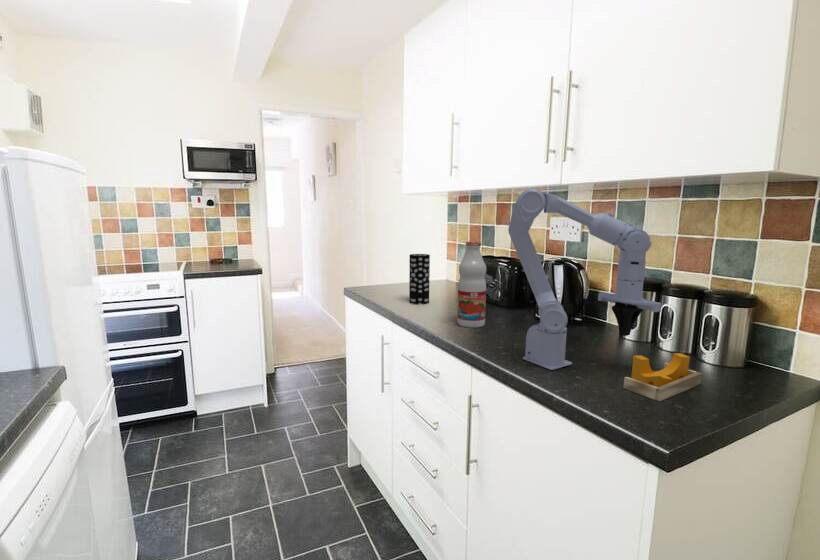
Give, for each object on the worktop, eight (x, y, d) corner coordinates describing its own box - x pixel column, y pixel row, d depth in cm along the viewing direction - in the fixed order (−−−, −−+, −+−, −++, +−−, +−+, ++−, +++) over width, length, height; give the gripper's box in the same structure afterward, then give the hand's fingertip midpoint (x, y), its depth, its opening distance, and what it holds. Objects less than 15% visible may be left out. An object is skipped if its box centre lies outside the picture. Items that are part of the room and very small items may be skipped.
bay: (623, 388, 94) (624, 377, 93) (665, 372, 103) (666, 362, 102) (659, 401, 87) (660, 390, 87) (700, 383, 96) (702, 373, 96)
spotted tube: (428, 300, 183) (428, 253, 180) (430, 304, 175) (430, 256, 172) (408, 300, 183) (408, 253, 179) (410, 304, 174) (410, 256, 171)
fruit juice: (483, 321, 149) (486, 241, 145) (486, 328, 140) (489, 243, 135) (456, 320, 150) (458, 240, 145) (457, 327, 141) (459, 242, 136)
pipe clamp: (644, 390, 93) (646, 362, 92) (630, 383, 97) (633, 355, 96) (692, 387, 95) (696, 359, 94) (677, 379, 99) (680, 353, 98)
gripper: (670, 282, 97) (664, 340, 99) (611, 274, 109) (607, 325, 111) (653, 285, 93) (647, 345, 96) (594, 276, 106) (590, 329, 108)
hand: (624, 334), depth 103 cm, fingers closed
